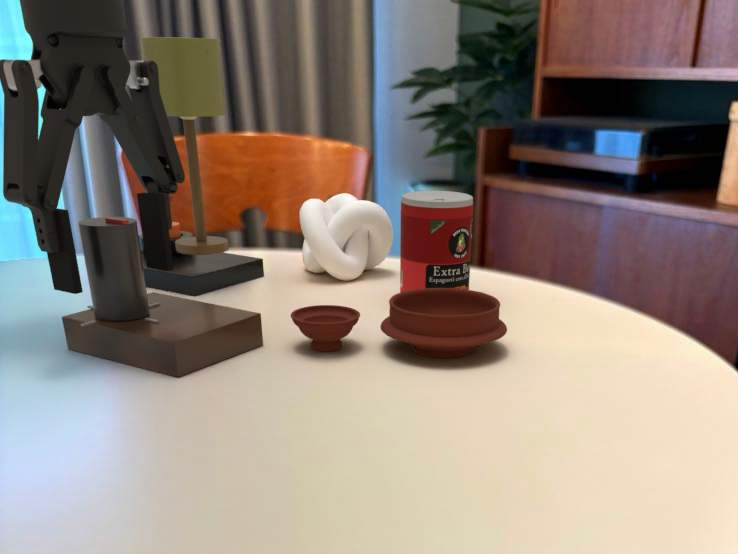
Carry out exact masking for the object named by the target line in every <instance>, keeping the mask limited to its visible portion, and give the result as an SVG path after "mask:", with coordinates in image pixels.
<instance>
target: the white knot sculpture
mask: <svg viewBox="0 0 738 554" xmlns="http://www.w3.org/2000/svg"><path fill="white" fill-rule="evenodd" d="M299 224H300V225H299V226H300V229H301V232H302V235H303V238H304V240H303V244H302V248H301V249H302V250H301V256H302V263H303V265H304V267H305V268H306V269H307V270H308V272H311V273H314V274H321V273H324V272H327V273H328V274H329V275H330V276H331V277H333V278H335V279H338V280H340V281H343V282H349V281H353V280H355V279H357V278H358V277H360V276H361V275H362V274H363V272H364V271H368V270H372V269H374V268H376V267H378V266H379V265H381V264H382V263H383V262H384V261H385V260H386V259H387V257H388V256H389V253H390V251H391V249H392V246H393V241H394V228H393V224H392V221H391V218H390V217H389V215H388V213H387V212H386V211H385V209H384V208H383V207H382V206H381V205H379V204H377V203H376V202H373V201H371V200H364V199H360V200H359V199H358V198H357V197H355V196H354V195H352V194H350V193H348V192H347V193H345V192H344V193H338V194H336V195H333V196H331V197H330V198H328V199H327V200H326V201H325V202H324V201H323V200H321V199H320V198H309V199H307V200H305V201H304V202H303V203H302V205H301V206H300V208H299Z"/></svg>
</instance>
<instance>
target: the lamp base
mask: <svg viewBox="0 0 738 554" xmlns="http://www.w3.org/2000/svg"><path fill="white" fill-rule="evenodd" d="M180 231H181V237H176V238H170V244H171V252H172V260H173V268H174V270H171V271H164V270H158V269H152V268H147V263H146V256H145V249H144V242H143V235H142V233H141V234H138V235H139V242H140V249H141V256H142V263H143V270H144V277H145V284H146V288H149V289H153V290H160V291H164V292H170V293H174V294H178V295H179V294H180V295H184V296H188V297H189V296H190V297H198V296H202V295H205V294H209V293H212V292H215V291H220V290H222V289H223V290H224V289H226V288H229V287H233V286H236V285H241V284H244V283H247V282H251V281H253V280H257V279H262V278H264V277H265V269H264V259H263V258H261V257H254V256H248V255H243V254H235V253H228V252H222V253H218V254H210V255H189V254H182V253H179V252H177V251H176V246H175V241H176V240H178V239H181V238H185V237H193V236H194V235H195V234H193V233H192V232H190V231H184V230H180Z"/></svg>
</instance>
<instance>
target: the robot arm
mask: <svg viewBox="0 0 738 554" xmlns="http://www.w3.org/2000/svg"><path fill="white" fill-rule="evenodd" d="M124 3H125V2H124V0H19V4H20V10H21V15H22V21H23V25H24V26H23V27H24V30H25V32H26V33H27V34H28V35H29V37H30V39H31V42H32V50H31V52H32V53H31V54H30V55H31V56H30V59H9V58H7V59H6V58H5V59H3V58H2V59H0V85H1V88H2V92H3V156H2V157H3V163H2V165H3V166H2V169H3V173H2V186H3V187H2V193H3V195H2V196H3V197H4V199H5V201H7V202H9V203H14V204H17V205H21V206H22V207H24V208H27V209H28V210H29V211H30V212H31V213H30V214H31V217H32V222H33V227H34V232H35V237H36V242H37V246H38V247H39V250H40V251H41V252H45V253H46V256H47V260H48V261H47V262H48V265H49V269H50V276H51V279H52V280H51V281H52V286H53V290H54V291H59V292H64V293H68V294H73V295H78V294H81V293H84V291H83V286H82V281H81V280H82V279H81V274H80V269H79V263H78V257H77V253H76V246H75V241H74V236H73V231H72V224H71V218H70V213H69V210H68V209H64V208H59V207H58V206H59V203H60V197H61V193H62V189H63V185H64V180H65V177H66V172H67V168H68V165H69V159H70V154H71V152H72V146H73V143H74V138H75V134H76V130H77V129H78V128H79V127H80V126H81V124H82V122H83V120H84V119H83V118H84V117H92V116H95V115H98V116H99V118H100V119H101V120H102V122H105V123H106V124H107V125H108V127H109V129H110V131H111V132H112V134H113V137H114V138H115V140H116V141H117V143H118V145H119V146H120V149H121V150H122V153H124V156H125V157H126V159H127V161H128V163H129V164H130V166H131V168H132V170H133V172H134V173H135V176H136V177H137V179H138V180H139V182H140V184H141V186H142V188H143V189H144V191H146V192H137V193H136V198H137V205H138V214H139V220H140V227H141V232H142V233H141V234H142V235H143V242H144V249H145V256H146V263H147V268H152V269H158V270H164V271H171V270H174V268H173V260H172V252H171V244H170V236H169V230H171V228H172V222H173V219H172V211H171V203H170V202H171V201H170V195H175V194H176V193H177V191H178V189H179V187H178V184H183V183H184V182H185V179H186V175H185V171H184V167H183V164H182V160H181V157H180V153H179V151H178V148H177V143H176V141H175V138H174V135H173V132H172V127H171V125H170V121H169V116H167V114H166V111H165V108H164V104H163V101H162V98H161V94H160V88H159V74H158V66H157V64H156V63H155V62H154V61H143V60H140V59H139V60H136V59H135V60H133V59H131V60H129V58H128V55H127V53H126V51H125V48H124V44H123V42H124V38H125V37H126V36H127V34H128V25H127V17H126V11H125V10H126V9H125V4H124ZM126 86H128V90H129V93H128V90H127V89H126ZM41 87H43V88H44V89H45V91H44V96H43V100H42V104H41V108H40V100H39V99H40V98H39V92H38V89H41ZM39 116H40V117H41V119H42V122H41V126H40V125H39V122H40V121H39V120H40V117H39ZM39 126H40V131H39Z"/></svg>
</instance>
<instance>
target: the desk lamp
mask: <svg viewBox="0 0 738 554" xmlns="http://www.w3.org/2000/svg"><path fill="white" fill-rule="evenodd" d="M139 42H140V50H141V59H142V61H154V62H155V63H156V64H157V66H158V74H159V88H160V94H161V98H162V101H163V104H164V108H165V111H166V114H167V117H172V118H173V117H178V118H180V119H182V122H183V133H184V138H185V139H184V140H185V142H184V143H185V150H186V159H187V168H188V178H189V186H190V197H191V205H192V215H193V223H194V231H195V232H194V233H195V236H193V237H185V238H181V239H178V240H176V241H175V246H176V251H177V252H179V253H182V254H189V255H210V254H218V253H222V252H223V253H227V251H228V252H229V249H230V247H229V239H228V238H226V237H223V236H216V235H207V228H206V227H207V226H206V219H205V208H204V199H203V189H202V181H201V170H200V160H199V151H198V141H197V131H196V121H195V120H196V119H197V118H198V117H219V116H226V115H227V109H226V98H225V87H224V75H223V64H222V63H223V62H222V53H221V40H220V38H211V37H209V38H208V37H171V36H169V37H165V36H163V37H161V36H154V37H153V36H145V37H144V36H143V37H139Z"/></svg>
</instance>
